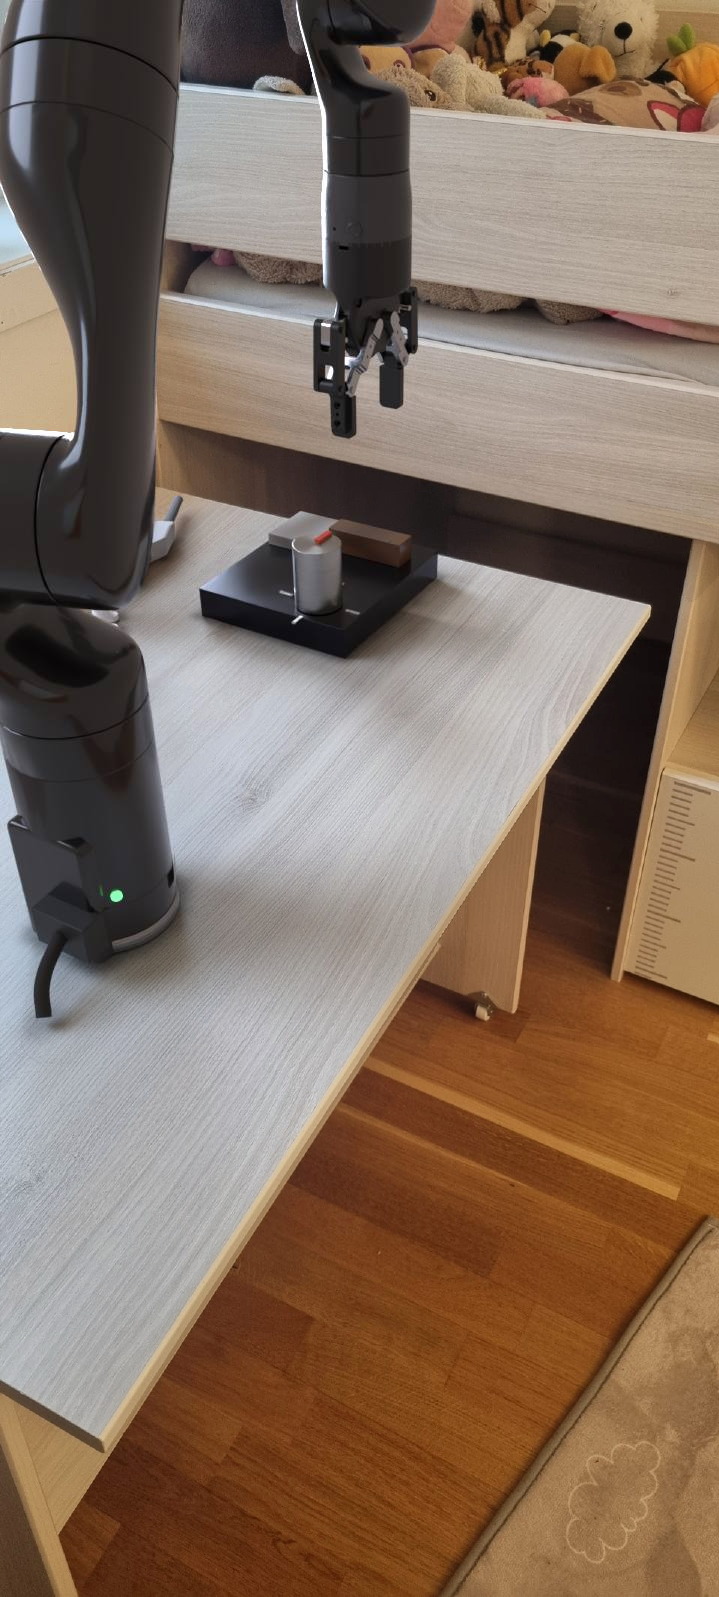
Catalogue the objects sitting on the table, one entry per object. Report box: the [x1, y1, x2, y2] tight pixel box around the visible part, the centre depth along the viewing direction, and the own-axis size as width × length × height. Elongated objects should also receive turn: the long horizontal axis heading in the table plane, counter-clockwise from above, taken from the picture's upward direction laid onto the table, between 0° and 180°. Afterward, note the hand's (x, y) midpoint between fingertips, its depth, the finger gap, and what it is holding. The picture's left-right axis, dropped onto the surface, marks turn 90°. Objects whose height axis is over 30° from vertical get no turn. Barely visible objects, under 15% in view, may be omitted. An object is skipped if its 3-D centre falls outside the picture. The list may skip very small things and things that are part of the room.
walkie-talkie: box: [149, 495, 184, 563], centre depth 125 cm, size 9×4×20 cm
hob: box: [198, 540, 439, 660], centre depth 116 cm, size 19×16×3 cm
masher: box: [268, 510, 413, 568], centre depth 118 cm, size 14×6×2 cm, turn 59°
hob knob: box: [292, 531, 343, 615], centre depth 108 cm, size 4×4×6 cm
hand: (368, 420), depth 109 cm, fingers open, 8 cm apart
